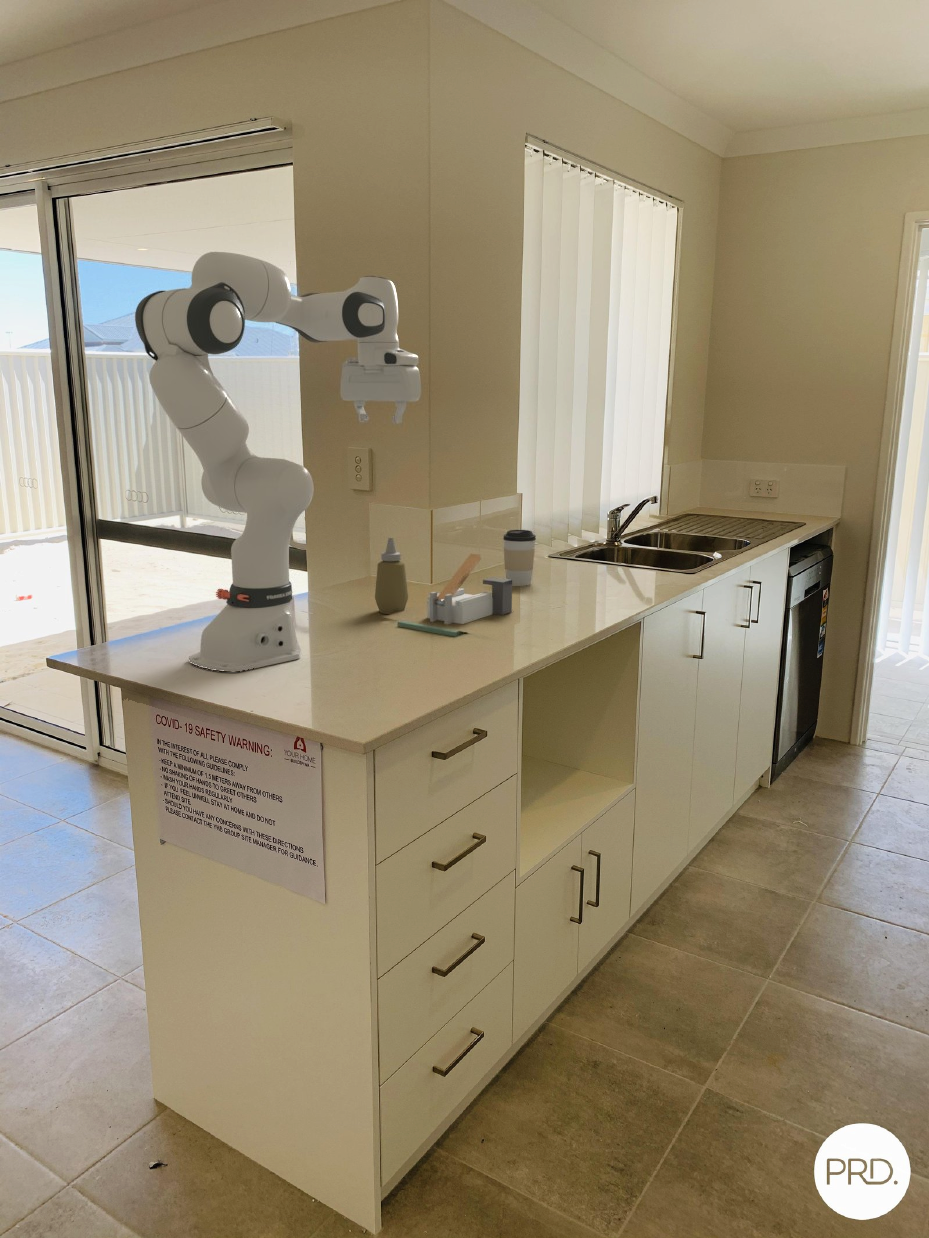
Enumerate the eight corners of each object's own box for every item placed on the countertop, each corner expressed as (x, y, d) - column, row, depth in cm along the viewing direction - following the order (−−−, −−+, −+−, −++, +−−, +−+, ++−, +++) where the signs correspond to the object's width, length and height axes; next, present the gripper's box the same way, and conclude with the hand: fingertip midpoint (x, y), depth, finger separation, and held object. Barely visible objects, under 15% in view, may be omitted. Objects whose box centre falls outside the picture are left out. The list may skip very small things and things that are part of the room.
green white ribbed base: (455, 636, 203) (455, 602, 201) (397, 626, 212) (397, 593, 210) (518, 614, 224) (519, 583, 222) (464, 605, 233) (464, 575, 231)
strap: (444, 607, 210) (442, 602, 209) (435, 605, 211) (433, 601, 211) (481, 558, 219) (479, 554, 218) (472, 557, 221) (470, 553, 220)
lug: (502, 615, 219) (503, 582, 217) (482, 611, 222) (482, 579, 220) (511, 612, 222) (512, 579, 220) (491, 608, 225) (492, 576, 223)
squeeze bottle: (368, 613, 224) (367, 538, 220) (386, 607, 231) (385, 534, 227) (397, 617, 220) (396, 541, 216) (414, 610, 227) (414, 536, 223)
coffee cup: (496, 581, 263) (497, 528, 259) (525, 579, 266) (526, 526, 263) (511, 587, 255) (512, 533, 251) (540, 585, 258) (542, 531, 255)
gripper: (332, 357, 205) (335, 422, 209) (406, 356, 194) (407, 424, 197) (351, 358, 210) (354, 421, 214) (424, 356, 199) (425, 423, 202)
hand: (380, 422), depth 205 cm, fingers open, 8 cm apart
